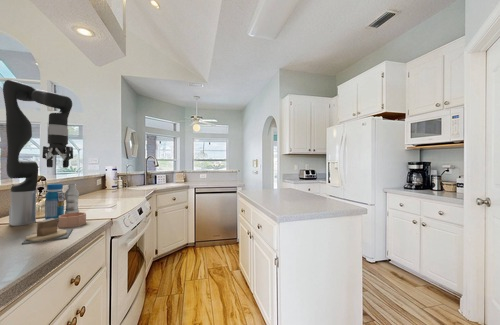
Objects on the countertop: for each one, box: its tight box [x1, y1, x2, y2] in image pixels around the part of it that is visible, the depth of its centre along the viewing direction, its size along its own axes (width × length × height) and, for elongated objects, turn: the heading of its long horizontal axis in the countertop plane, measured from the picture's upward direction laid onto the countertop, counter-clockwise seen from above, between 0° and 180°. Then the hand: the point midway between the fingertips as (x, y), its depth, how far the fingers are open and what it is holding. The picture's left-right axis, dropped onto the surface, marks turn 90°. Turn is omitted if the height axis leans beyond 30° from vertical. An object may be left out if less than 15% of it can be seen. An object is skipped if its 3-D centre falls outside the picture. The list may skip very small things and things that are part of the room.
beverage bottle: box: [44, 183, 65, 220], centre depth 124 cm, size 8×8×20 cm
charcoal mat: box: [21, 228, 74, 245], centre depth 95 cm, size 14×14×1 cm
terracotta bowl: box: [57, 211, 87, 229], centre depth 114 cm, size 11×11×5 cm
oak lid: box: [25, 218, 67, 241], centre depth 94 cm, size 13×13×7 cm
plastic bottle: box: [64, 183, 80, 214], centre depth 126 cm, size 6×7×20 cm
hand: (57, 167), depth 107 cm, fingers open, 8 cm apart
